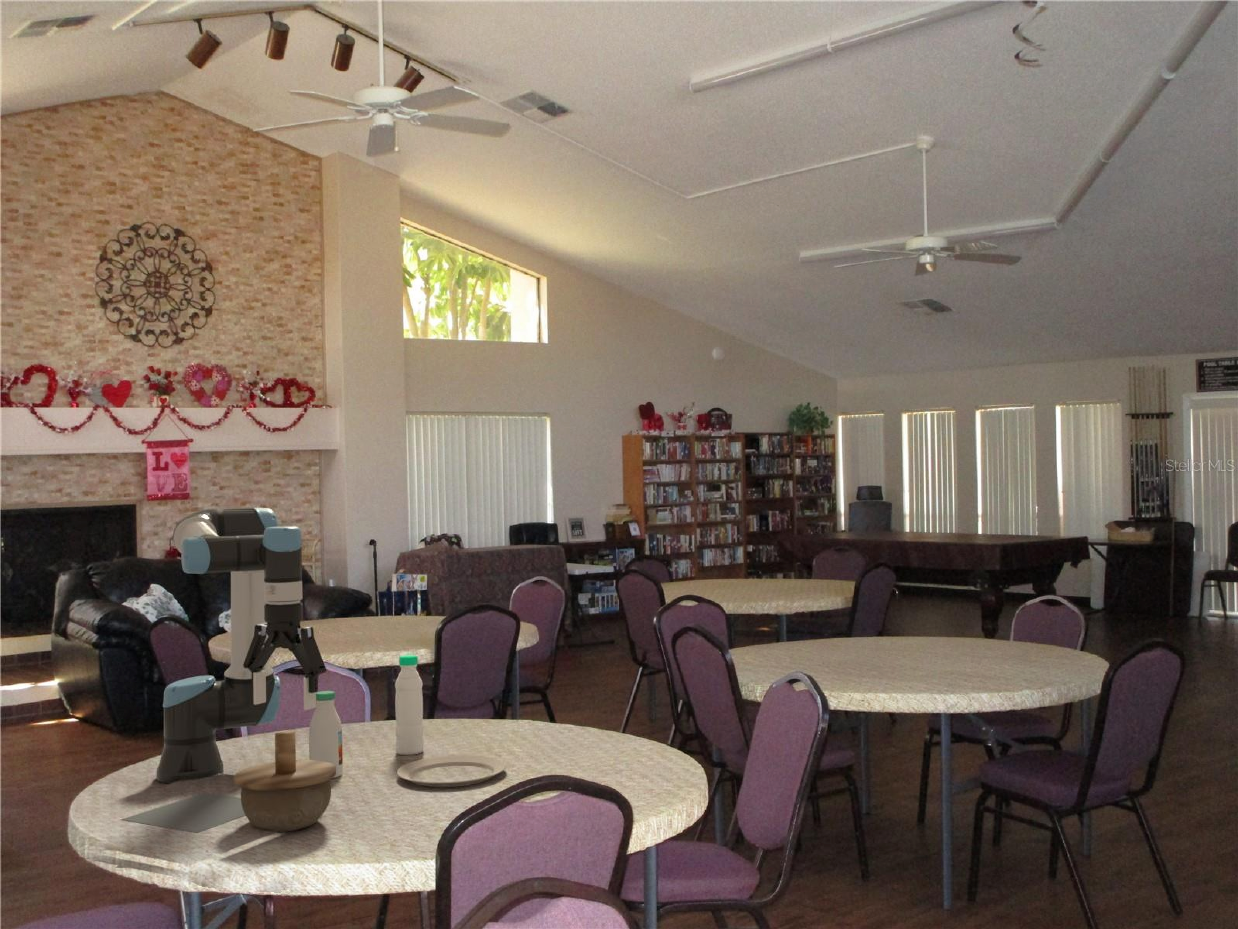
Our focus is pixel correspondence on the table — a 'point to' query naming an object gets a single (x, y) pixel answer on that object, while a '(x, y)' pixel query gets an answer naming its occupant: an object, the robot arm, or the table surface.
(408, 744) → the white plastic bottle
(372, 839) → the table surface
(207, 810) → the mat
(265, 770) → the lid
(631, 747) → the table surface
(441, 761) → the plate
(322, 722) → the milk bottle
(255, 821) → the bowl
